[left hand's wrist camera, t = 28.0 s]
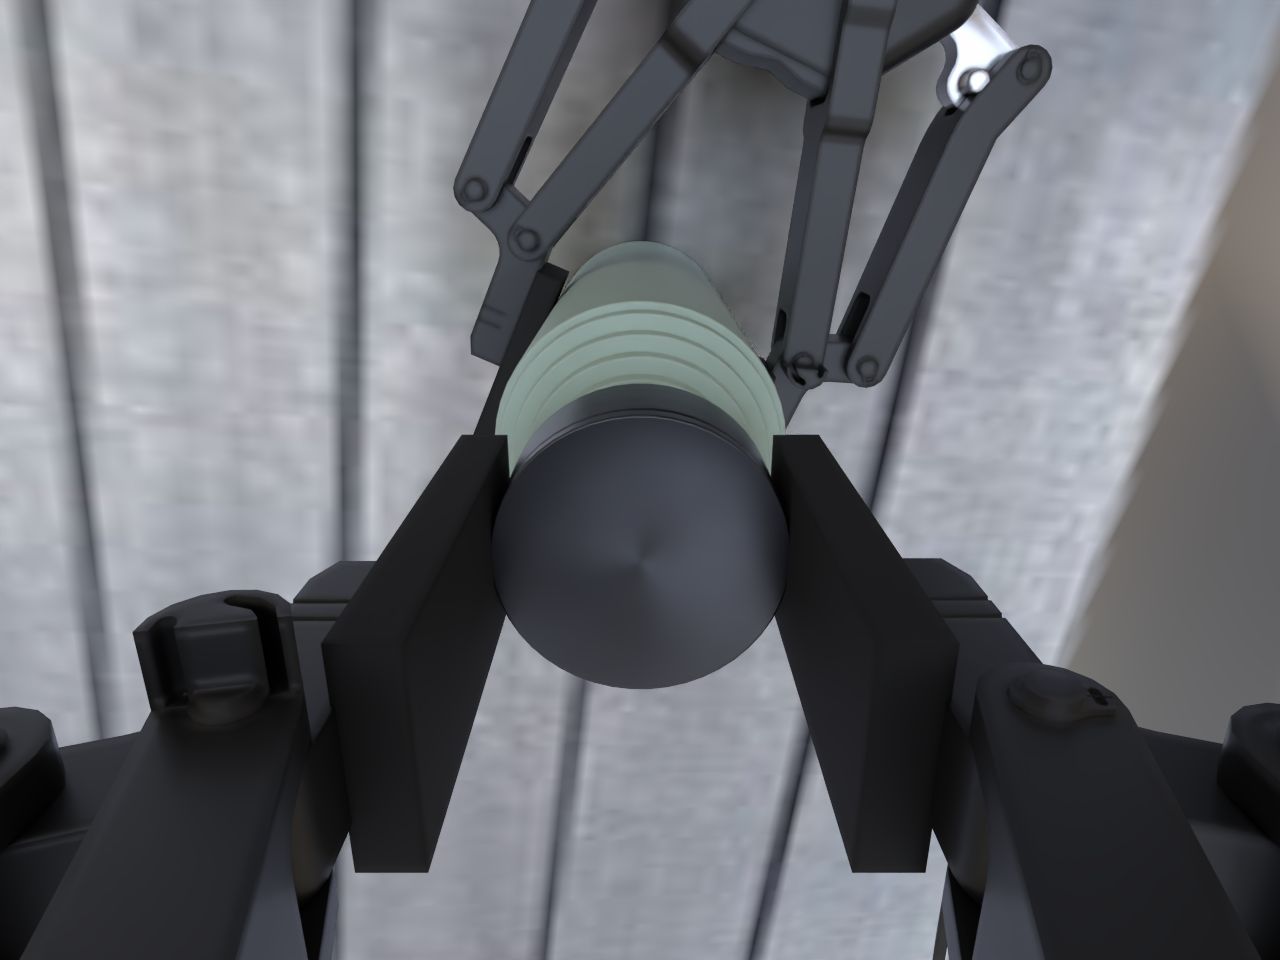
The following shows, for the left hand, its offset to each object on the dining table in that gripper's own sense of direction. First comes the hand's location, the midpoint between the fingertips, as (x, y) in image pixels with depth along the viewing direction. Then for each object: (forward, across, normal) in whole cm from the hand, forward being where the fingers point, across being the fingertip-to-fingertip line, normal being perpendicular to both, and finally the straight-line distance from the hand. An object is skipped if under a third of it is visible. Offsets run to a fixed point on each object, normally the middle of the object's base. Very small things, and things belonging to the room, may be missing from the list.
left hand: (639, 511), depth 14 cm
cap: (-2, 0, 0) cm, 2 cm away
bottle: (+19, 0, 0) cm, 19 cm away
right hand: (+12, -2, -5) cm, 13 cm away
